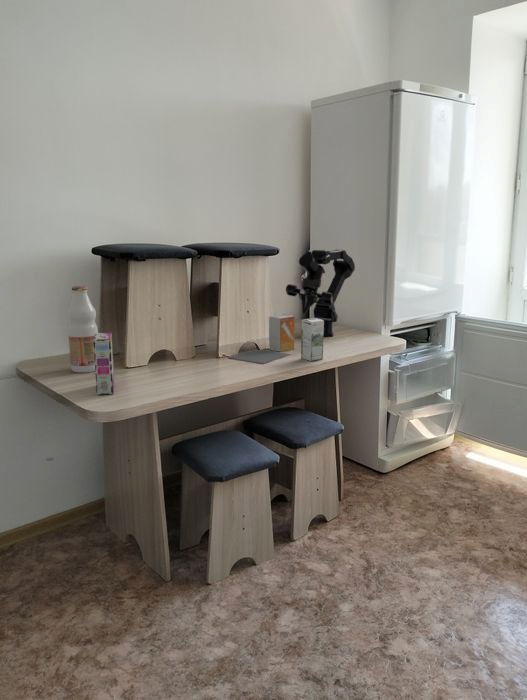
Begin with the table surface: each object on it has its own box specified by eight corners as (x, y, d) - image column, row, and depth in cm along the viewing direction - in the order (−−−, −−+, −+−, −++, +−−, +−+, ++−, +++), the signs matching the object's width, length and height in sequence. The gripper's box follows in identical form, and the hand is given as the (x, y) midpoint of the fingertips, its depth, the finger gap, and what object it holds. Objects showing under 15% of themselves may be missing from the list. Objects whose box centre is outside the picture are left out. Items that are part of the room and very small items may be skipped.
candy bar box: (114, 394, 165) (110, 339, 161) (96, 396, 164) (92, 340, 160) (115, 384, 175) (111, 331, 172) (98, 385, 174) (94, 332, 170)
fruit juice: (67, 373, 188) (60, 288, 182) (76, 366, 197) (70, 285, 191) (95, 373, 188) (89, 288, 181) (103, 366, 197) (98, 285, 191)
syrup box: (313, 356, 209) (313, 317, 206) (323, 359, 204) (324, 319, 201) (300, 358, 206) (301, 318, 202) (311, 361, 201) (311, 321, 198)
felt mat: (255, 349, 221) (255, 348, 220) (290, 354, 211) (290, 354, 211) (227, 357, 207) (227, 357, 207) (263, 364, 198) (263, 363, 198)
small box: (280, 352, 216) (280, 318, 213) (268, 349, 220) (268, 316, 217) (294, 348, 221) (295, 315, 218) (283, 346, 226) (283, 313, 223)
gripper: (289, 265, 226) (278, 300, 222) (335, 274, 222) (325, 311, 218) (292, 276, 236) (282, 311, 233) (336, 286, 232) (326, 321, 228)
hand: (303, 313), depth 228 cm, fingers closed
